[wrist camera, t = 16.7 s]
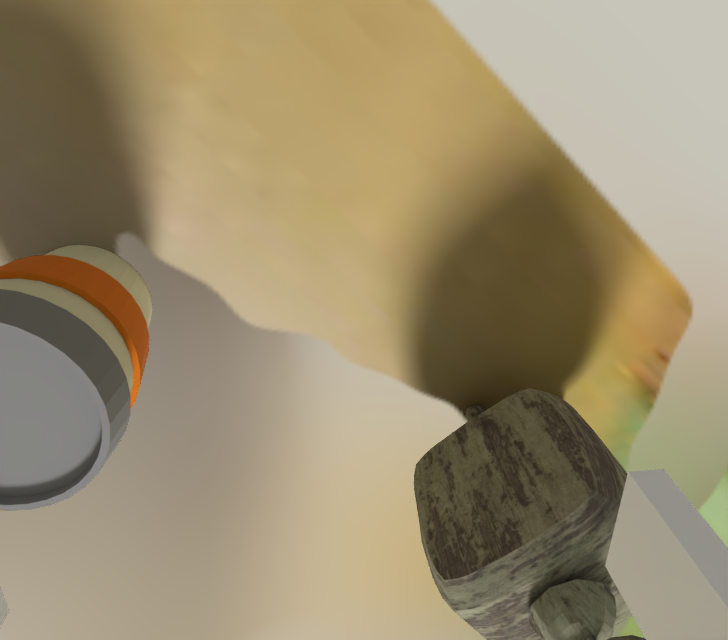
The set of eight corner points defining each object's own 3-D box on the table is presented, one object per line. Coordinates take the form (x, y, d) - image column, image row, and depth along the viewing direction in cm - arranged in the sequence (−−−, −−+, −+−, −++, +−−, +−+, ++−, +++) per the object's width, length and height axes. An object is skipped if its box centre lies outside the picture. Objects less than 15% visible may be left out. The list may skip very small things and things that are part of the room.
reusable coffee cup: (212, 307, 44) (167, 426, 30) (103, 402, 47) (17, 548, 33) (75, 182, 39) (-51, 257, 25) (-38, 296, 42) (-204, 417, 28)
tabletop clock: (448, 494, 54) (544, 818, 31) (389, 436, 50) (449, 754, 28) (581, 408, 51) (793, 700, 28) (528, 340, 47) (722, 611, 25)
